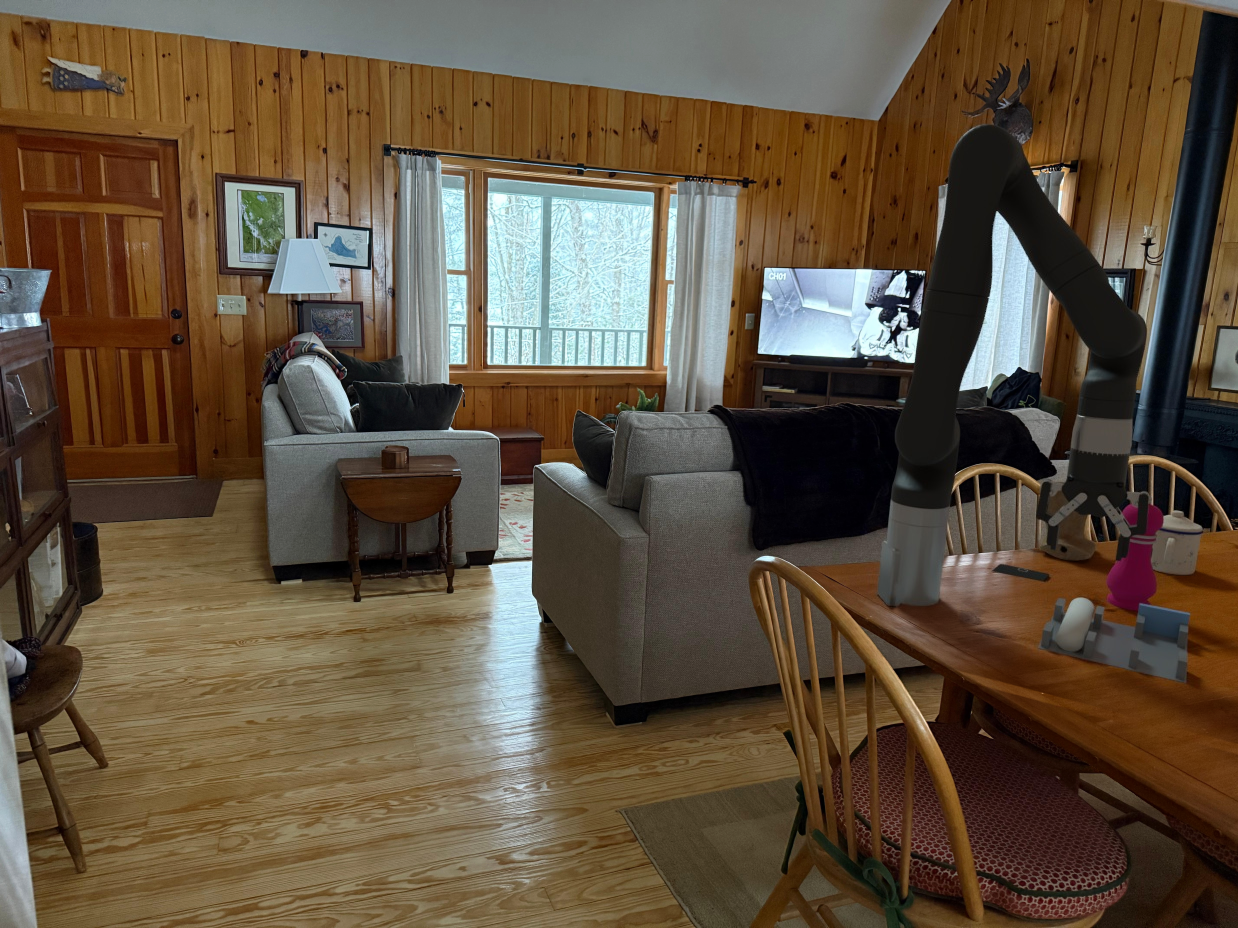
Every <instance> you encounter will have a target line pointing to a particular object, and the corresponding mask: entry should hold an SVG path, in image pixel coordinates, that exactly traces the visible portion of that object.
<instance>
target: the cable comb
mask: <svg viewBox="0 0 1238 928" xmlns="http://www.w3.org/2000/svg"><path fill="white" fill-rule="evenodd" d="M1065 604H1066V599H1065V598H1062V597H1061V598H1060V597H1058V598H1057V601H1056V602H1055V604H1054V611H1053V615H1052V617H1051V619H1050V621H1047V622H1046V623H1045V625H1044V627H1043V630H1042V633H1041V634H1042V635H1041V640H1040V643H1039V644H1038V646H1037V649H1039V650H1043V651H1048V652H1052V653H1056V654H1061V655H1065V656H1069V657H1072V658H1073V657H1074V658H1078V659H1080V660H1081V659H1082V660H1086V661H1090V662H1094V663H1099V664H1101V665H1102V664H1103V665H1108V666H1111V667H1116V668H1119V669H1124V670H1128V671H1131V672H1136V673H1140V674H1143V675H1144V674H1145V675H1149V676H1154V677H1158V678H1162V679H1166V680H1169V681H1175V682H1178V683H1182V684H1187V677H1188V676H1187V671H1188V656H1189V655H1188V633H1189V622H1190V617H1191V613H1190V612H1186V611H1182V610H1181V611H1180V610H1176V609H1171V608H1166V607H1160V606H1157V605H1151V604H1150V605H1147V604H1141V603H1140V604H1139V610H1138V612H1137V616H1136V623H1135V626H1130V625H1126V624H1123V623H1122V624H1120V623H1117V622H1112V621H1109V620H1108V621H1107V620H1104V619H1103V618H1104V615H1105V614H1104V613H1105V608H1106V607H1104V606H1100V605H1097V606H1096V607H1095V608H1096V609H1095V611H1094V614H1093V617H1092V620H1091V623H1090V626H1089V629H1088V632H1087V635H1086V638H1085V641H1084V643H1083V646H1082V648H1081V649H1079V650H1078V651H1075V652H1069V651H1065V650H1063V649H1062V648H1061V647H1060V646H1059V645H1058V644H1057V641H1056V636H1057V633H1058V631H1059V628H1060V626H1061V624H1062V622H1063V619H1064V617H1065V615H1066V612H1067V611H1066V612H1065Z"/></svg>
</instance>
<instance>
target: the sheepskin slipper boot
mask: <svg viewBox="0 0 1238 928" xmlns="http://www.w3.org/2000/svg"><path fill="white" fill-rule="evenodd" d="M1053 482H1057V483H1062V484H1064V483H1065V481H1058V480H1057V481H1053ZM1041 487H1042V483H1041V484H1040V486H1039V493H1040V492H1041ZM1067 502H1068V501H1067V499H1066V498H1065V496H1064V494H1063V493H1062V491H1061V490H1059V491H1057V493H1056V494H1055V495H1054V496H1050V501H1049V506H1048V511H1047V512H1049V513H1051V514H1053V515H1054V514H1055V513H1056V512H1057V511H1058V510H1060V509H1061V508H1062V507H1063V506H1064V505H1065V504H1066V503H1067ZM1088 516H1089V515H1079V513H1077V512H1075V511H1074V510H1073V511H1072V512H1071V513H1070V514H1069V515H1068V516H1066V517H1065V518H1064V519H1063V520H1061V521H1060V522H1059V524H1060V530H1059V537H1058V545H1057V549H1056V550H1050V548H1051V546H1048V545H1047V542H1046V541H1047V533H1048V524H1047V523H1046V522H1044V523H1045V528H1046V535H1045V536H1044V537H1043V538H1042V540H1041V542H1040V545H1039V549H1040V550H1042V551H1043V552H1045V553H1047V554H1048V555H1050V556H1053V557H1055V558H1057V559H1060V560H1065V561H1080V560H1081V561H1083V560H1087V559H1090V558H1092V556H1094V553H1095V551H1096V548H1097V543H1096V542H1095V541H1094V540H1092V539H1088V538H1085V536H1084V533H1085V527H1086V523H1087V519H1088Z"/></svg>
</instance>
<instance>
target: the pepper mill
mask: <svg viewBox="0 0 1238 928" xmlns="http://www.w3.org/2000/svg"><path fill="white" fill-rule="evenodd" d="M1152 500H1153V499H1152V497H1151V495H1149V508H1148V521H1147V530H1146V533H1145V534H1144V535H1134V536H1132V537H1131V538H1130V544H1129V550H1128V555H1127V557H1126V558H1122V559H1121V561H1116V562H1115V563H1114V565H1113V566H1112V567H1111V569H1110V571H1109V573H1108V574H1107V577H1106V586H1107V588H1108V589H1109V591H1110V593H1108V594H1107V598H1106V602H1107V603H1109V604H1110V605H1112V606H1115V607H1118V608H1121V609H1125V610H1129V611H1138V610H1139V604H1140V603H1141V604H1147V605H1151V602H1150V601H1149V600H1148V599H1151V598H1152V597H1153V596H1154V595H1155V594H1156V593H1157V586H1158V583H1157V578H1156V575H1155V572H1154V571H1155V570H1153V568H1152V564H1151V550H1152V547H1153V544H1155V543H1156V542H1157V541H1156V538H1157V537H1158V536H1157V534H1155V533H1156V532H1157V531H1158V530H1159V529H1161V527H1162V526H1163V523H1164V517H1163V516H1164V514H1163V512H1162V511H1161V509H1160V508H1159V507H1158V506H1155V505H1153V504H1151V503H1152ZM1121 512H1122V514H1123V515H1124V517H1125V519H1126V521H1127V522H1128V524H1129V525H1130V526H1131V525H1137V515H1138V508H1136V507H1134V506H1133V505H1132V503H1130V504H1128V505H1127V506H1125V508H1124V509H1123V511H1121Z"/></svg>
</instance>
